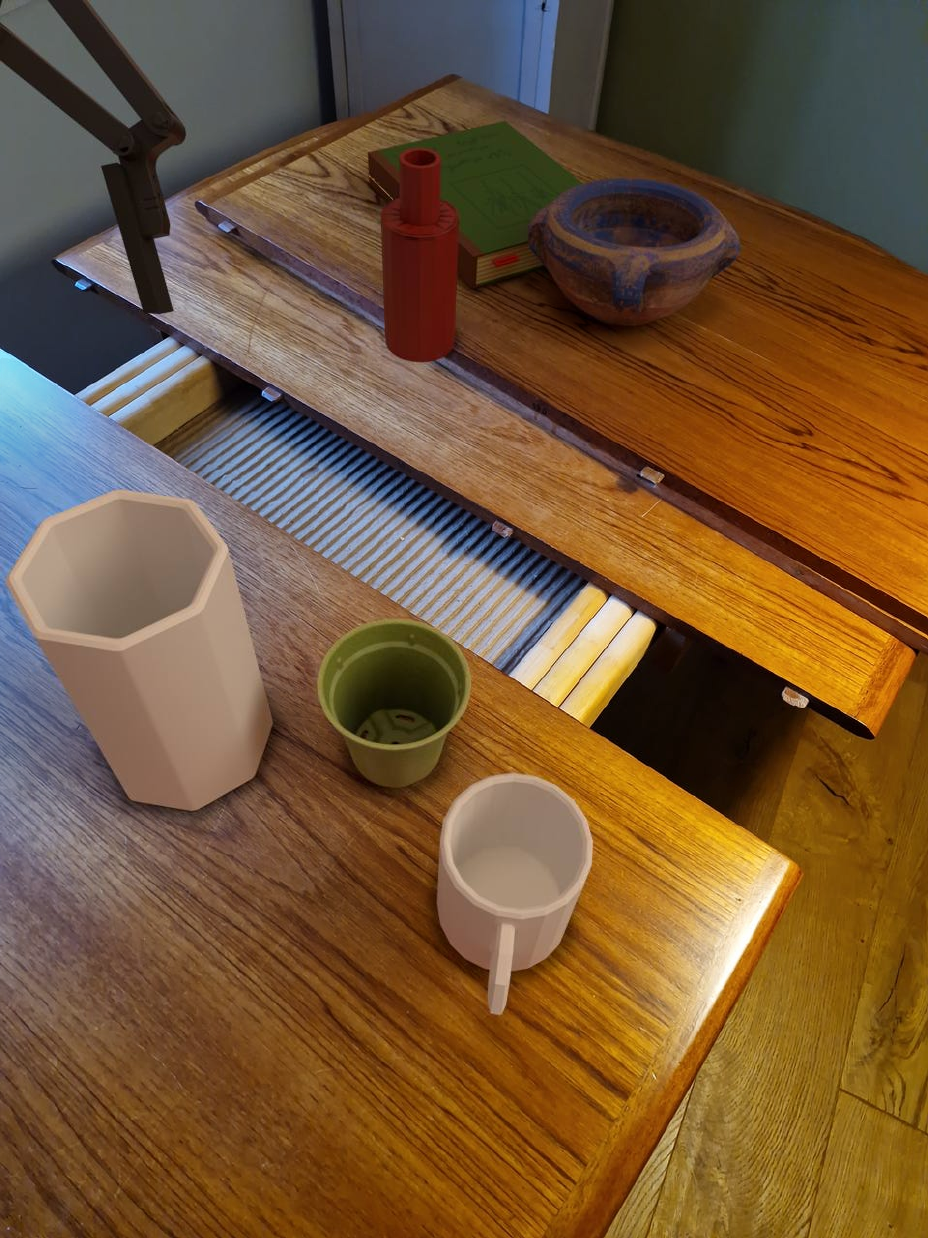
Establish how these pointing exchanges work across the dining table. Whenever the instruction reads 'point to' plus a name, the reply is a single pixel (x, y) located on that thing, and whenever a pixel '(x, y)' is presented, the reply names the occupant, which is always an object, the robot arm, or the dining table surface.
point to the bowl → (632, 247)
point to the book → (485, 195)
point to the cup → (149, 643)
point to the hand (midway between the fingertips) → (26, 340)
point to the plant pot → (394, 696)
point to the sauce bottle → (419, 262)
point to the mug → (510, 874)
